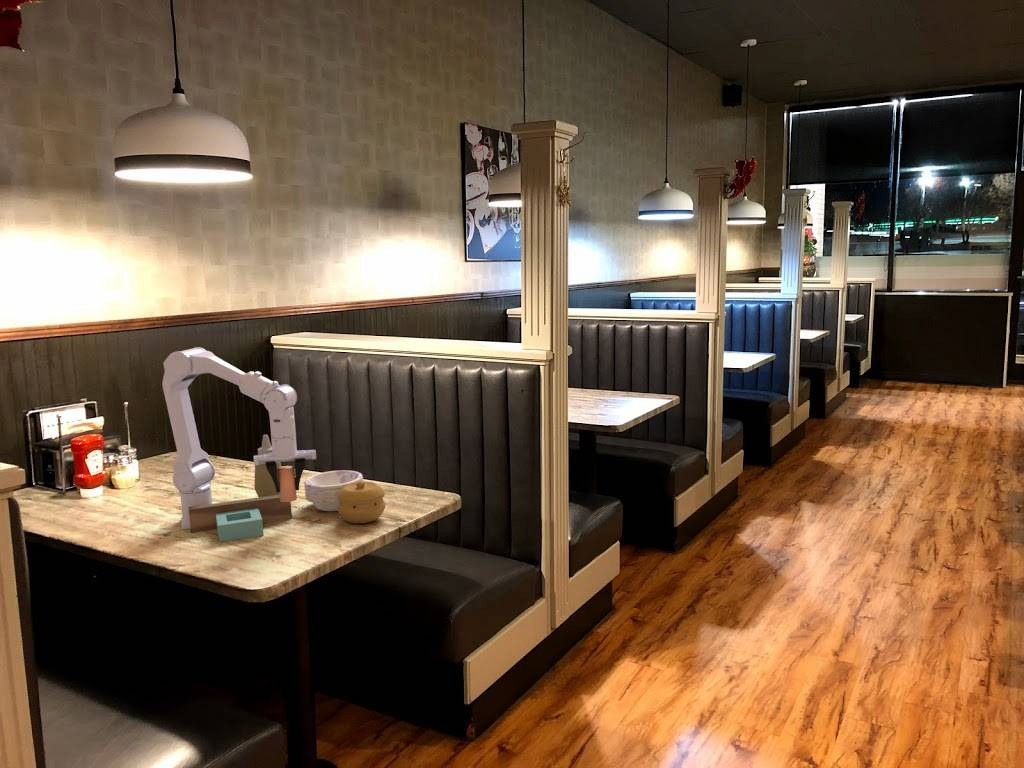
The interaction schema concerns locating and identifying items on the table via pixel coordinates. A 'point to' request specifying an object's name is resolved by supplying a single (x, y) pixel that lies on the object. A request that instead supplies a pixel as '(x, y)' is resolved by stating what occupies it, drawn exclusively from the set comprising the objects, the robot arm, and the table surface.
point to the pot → (361, 502)
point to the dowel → (287, 484)
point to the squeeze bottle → (265, 473)
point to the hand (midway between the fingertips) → (287, 490)
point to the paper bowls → (329, 488)
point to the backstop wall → (268, 508)
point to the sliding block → (239, 524)
